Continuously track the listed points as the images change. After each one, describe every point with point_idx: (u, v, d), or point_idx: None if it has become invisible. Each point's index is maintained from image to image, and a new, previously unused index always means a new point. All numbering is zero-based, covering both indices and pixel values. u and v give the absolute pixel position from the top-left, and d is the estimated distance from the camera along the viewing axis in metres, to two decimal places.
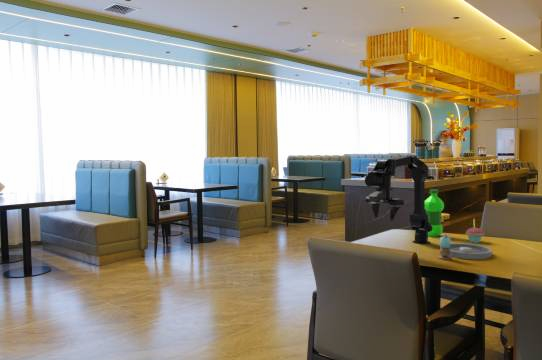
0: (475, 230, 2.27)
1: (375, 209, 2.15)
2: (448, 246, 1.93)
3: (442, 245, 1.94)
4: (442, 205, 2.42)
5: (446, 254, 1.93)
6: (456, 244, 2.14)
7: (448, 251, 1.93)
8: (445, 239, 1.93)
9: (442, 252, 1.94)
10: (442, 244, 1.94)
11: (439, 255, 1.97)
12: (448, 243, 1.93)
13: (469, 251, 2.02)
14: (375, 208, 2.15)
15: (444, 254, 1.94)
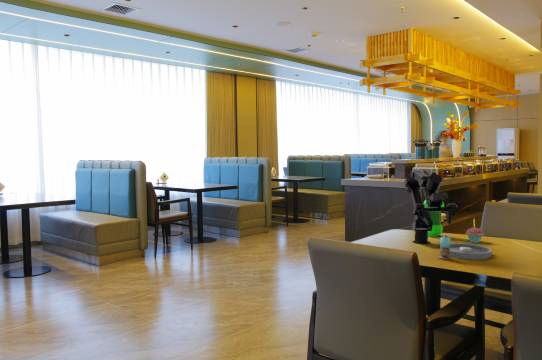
0: (475, 230, 2.27)
1: None
2: (448, 246, 1.93)
3: (442, 245, 1.94)
4: (442, 205, 2.42)
5: (446, 254, 1.93)
6: (456, 244, 2.14)
7: (448, 251, 1.93)
8: (445, 239, 1.93)
9: (442, 252, 1.94)
10: (442, 244, 1.94)
11: (439, 255, 1.97)
12: (448, 243, 1.93)
13: (469, 251, 2.02)
14: None
15: (444, 254, 1.94)
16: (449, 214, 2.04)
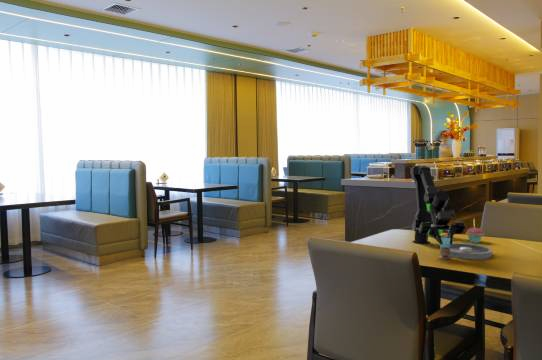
0: (475, 230, 2.27)
1: None
2: (448, 246, 1.93)
3: (442, 245, 1.94)
4: None
5: (446, 254, 1.93)
6: (456, 244, 2.14)
7: (448, 251, 1.93)
8: (445, 239, 1.93)
9: (442, 252, 1.94)
10: (442, 244, 1.94)
11: (439, 255, 1.97)
12: (448, 243, 1.93)
13: (469, 251, 2.02)
14: None
15: (444, 254, 1.94)
16: (451, 233, 1.96)
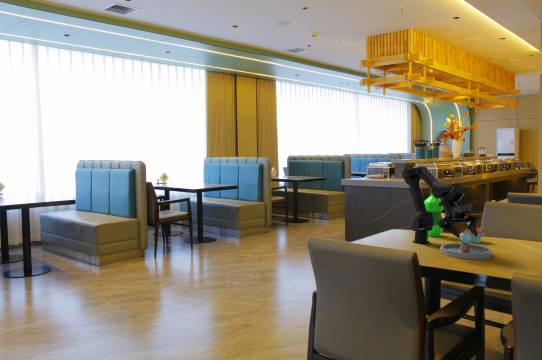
0: None
1: None
2: (469, 242, 1.97)
3: (464, 241, 1.97)
4: None
5: (468, 250, 1.97)
6: (456, 244, 2.14)
7: (470, 246, 1.97)
8: (467, 235, 1.96)
9: (464, 248, 1.97)
10: (464, 240, 1.97)
11: (459, 251, 2.00)
12: (470, 239, 1.97)
13: None
14: None
15: (466, 250, 1.97)
16: (474, 225, 2.01)
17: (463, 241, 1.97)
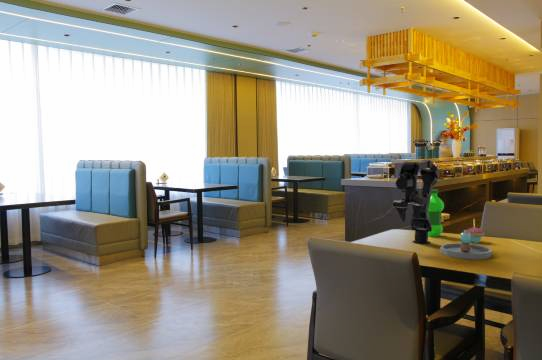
0: (475, 230, 2.27)
1: None
2: (469, 242, 1.97)
3: (464, 241, 1.97)
4: (442, 205, 2.42)
5: (468, 250, 1.97)
6: (456, 244, 2.14)
7: (470, 246, 1.97)
8: (467, 235, 1.97)
9: (464, 248, 1.97)
10: (464, 240, 1.97)
11: (459, 251, 2.00)
12: (469, 239, 1.97)
13: None
14: None
15: (466, 250, 1.97)
16: (419, 210, 2.18)
17: (463, 241, 1.97)
